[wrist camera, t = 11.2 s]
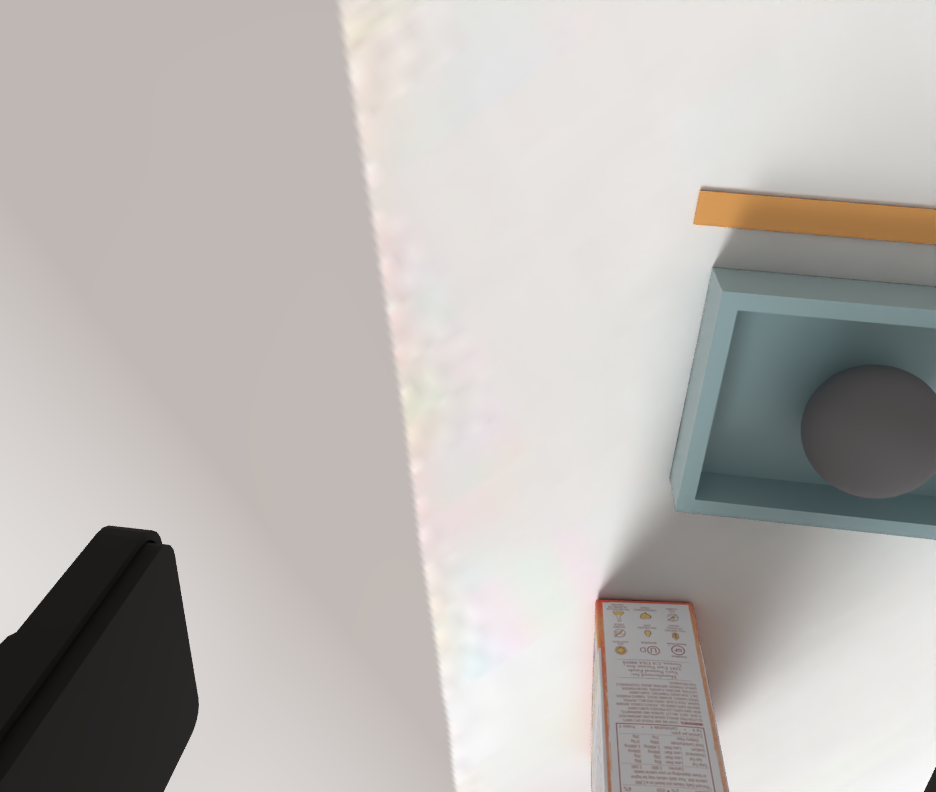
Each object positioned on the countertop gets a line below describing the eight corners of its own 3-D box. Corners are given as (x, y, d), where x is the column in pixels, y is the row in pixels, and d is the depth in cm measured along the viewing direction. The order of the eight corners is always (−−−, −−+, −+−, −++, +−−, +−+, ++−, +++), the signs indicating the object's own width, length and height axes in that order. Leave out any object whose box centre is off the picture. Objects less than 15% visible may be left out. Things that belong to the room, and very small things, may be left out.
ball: (806, 335, 39) (838, 398, 33) (940, 349, 38) (994, 415, 33) (776, 444, 42) (801, 517, 36) (900, 458, 41) (944, 534, 36)
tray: (699, 190, 36) (709, 209, 34) (1131, 225, 35) (1176, 247, 32) (646, 474, 44) (651, 508, 41) (1002, 512, 42) (1030, 550, 40)
